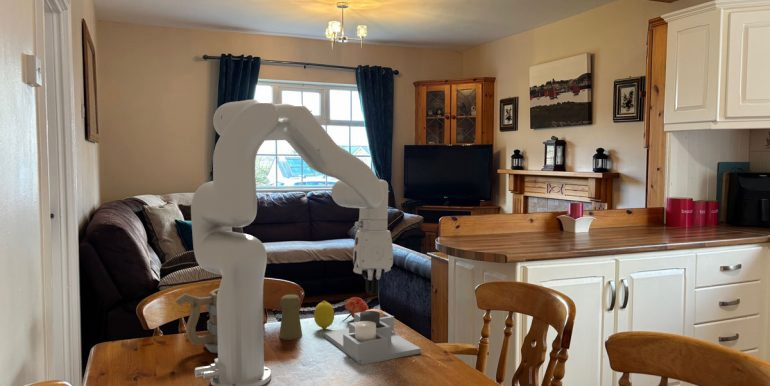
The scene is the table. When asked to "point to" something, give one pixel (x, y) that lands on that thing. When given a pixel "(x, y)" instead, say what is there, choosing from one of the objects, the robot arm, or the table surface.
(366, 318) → the black button
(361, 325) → the cream button
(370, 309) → the terracotta button
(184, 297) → the tankard
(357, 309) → the red flower
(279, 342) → the table surface
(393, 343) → the grey stepped holder base
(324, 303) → the lemon
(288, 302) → the olive green shaker
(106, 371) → the table surface
